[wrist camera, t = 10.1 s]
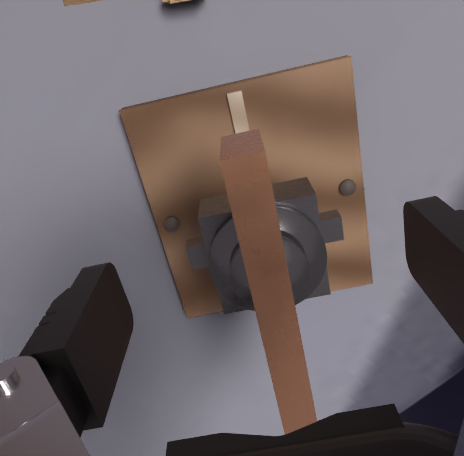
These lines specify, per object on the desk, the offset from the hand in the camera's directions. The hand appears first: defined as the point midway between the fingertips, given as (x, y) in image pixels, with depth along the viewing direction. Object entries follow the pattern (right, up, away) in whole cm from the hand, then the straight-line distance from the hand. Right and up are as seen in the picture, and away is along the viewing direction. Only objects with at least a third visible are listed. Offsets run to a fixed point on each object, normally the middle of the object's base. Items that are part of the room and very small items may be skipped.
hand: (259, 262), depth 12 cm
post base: (+1, +3, +22) cm, 22 cm away
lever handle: (+1, 0, +16) cm, 16 cm away
